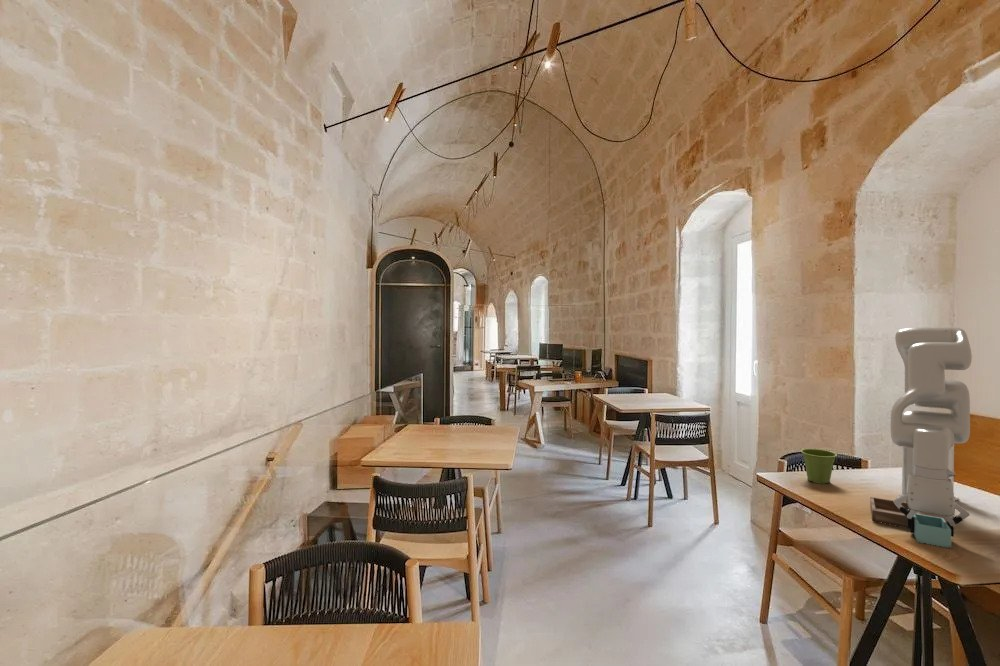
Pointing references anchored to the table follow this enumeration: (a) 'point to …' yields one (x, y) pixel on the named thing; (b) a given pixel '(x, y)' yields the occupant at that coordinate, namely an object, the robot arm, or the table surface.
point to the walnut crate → (888, 512)
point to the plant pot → (818, 464)
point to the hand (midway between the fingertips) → (929, 534)
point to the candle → (951, 466)
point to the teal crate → (932, 530)
